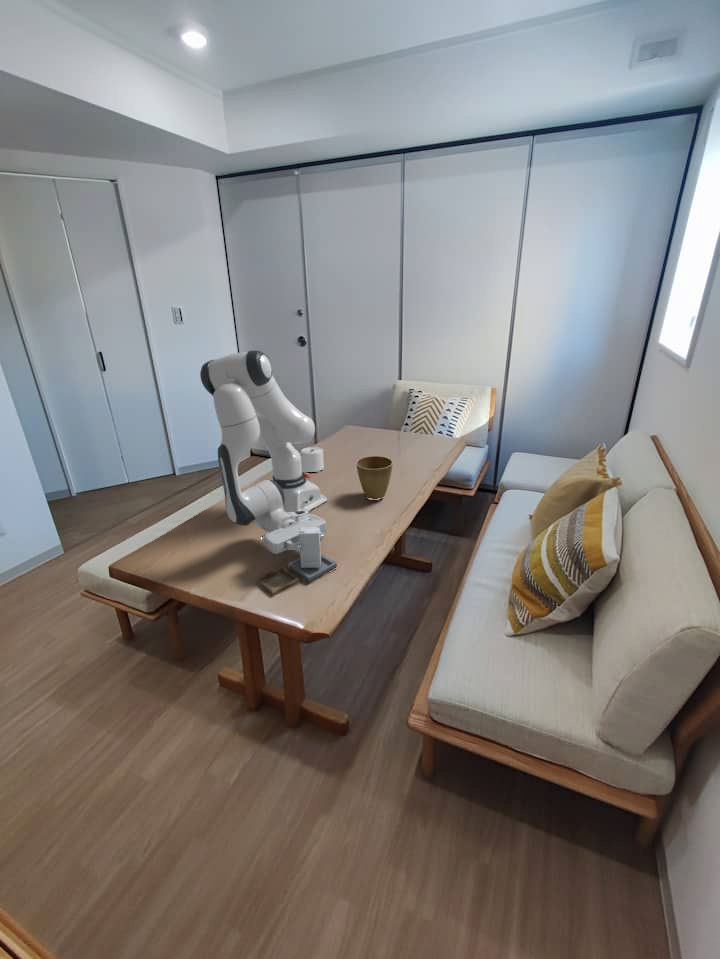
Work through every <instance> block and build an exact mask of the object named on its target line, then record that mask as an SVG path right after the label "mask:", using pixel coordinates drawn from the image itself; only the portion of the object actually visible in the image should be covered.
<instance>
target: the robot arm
mask: <svg viewBox="0 0 720 959" xmlns="http://www.w3.org/2000/svg"><path fill="white" fill-rule="evenodd" d="M272 368H273V367H272V364H271V361H270V358H269V356H268V355H267V354H265V353H264V352H262V351H261V350H249V351H242V352H235V353H231V354H229V355H225V356H222V357H219V358H216V359H211V360H208V361H207V362H205V363H204V364H203V365H202V366H201V370H200V372H199V375H200V381H201V384H202V386H203V387H204V389H205V390H206V391H207V392H208V393H209V394H210V395H212V397H213V404H214V410H215V414H216V418H217V420H218V421H217V422H218V423H219V424H218V425H219V427H220V430H221V442H220V445H219V446H218V448H217V460H218V466H219V470H220V477H221V482H222V487H223V492H224V500H225V510H226V511H225V512H226V514H227V516H228V518H229V520H230V522H232V523H233V524H234V525H238V526H244V527H245V526H248V525H250V524H251V523H254V524H255V525H257V527H258V528H260V529H261V530H263V531H264V532H267V533H266V534H263V535H261V537H260V539H259V542H260V543H261V544H262V545H265V546H266V548H267V549H268V550H269V551H270V552H271V553H272V554H280V553H282V552H284V551H286V550H292V551H293V550H294V551H296V552H300V551H301V550H303V548H302V547H303V546H302V544H300V540H299V532H300V528H301V527H320V542H321V541H325V536H326V535H325V534H324V533H326V531H327V522H326V520H325V519H323V518H322V517H319V515H316V514H313V513H311V514H310V512H311V511H310V510H311V509H313V508H315V507H317V506H318V505H320V504H322V503H324V502H325V501H327V502H328V499H327V497H326V496H325V495H324V494H323V493H321V489H320V488H319V487H318V485H317V484H315V483H313V482H312V481H309V480H308V479H311V476H312V473H304V472H302V466H301V456H300V454H301V453H300V452H299V451H298V450H297V449H296V448H295V447H294V446H293V445H292V444H295V445H296V444H308V443H310V441H311V440H312V439H313V438H314V435H315V432H316V426H315V422H314V420H313V419H312V418H311V417H310V416H308V415H306V414H304V413H303V412H302V411H300V410H299V409H298V408H297V407H296V406H295V405H294V404H293V403H292V402H290V401H289V399H288V398H287V397H286V396H285V395H284V392H282V389H281V388H280V386H279V385H278V382H277V381H276V378H275V376H274V375H273V369H272ZM256 412H257V413H256ZM259 438H261V440H262V441H263V443H264V444H265V446H266V447H267V448H266V449H267V450H268V453H269V456H270V459H271V465H272V479H268V478H267V479H264V480H261V481H260V482H257V483H255V484H254V485H252V486H250V487H249V488H246V489H245V490H243V491H242V488H241V484H240V478H239V472H238V471H239V470H238V469H239V465H240V462H241V461H242V459H244V457H245V456H246V454H247V453H248V452H250V451H251V449H253V448H254V447H255V445H256V443H257V442H258V440H259ZM324 504H325V503H324ZM322 505H323V504H322ZM320 506H321V505H320ZM317 508H318V507H317ZM315 509H316V508H315ZM308 511H310V512H308Z"/></svg>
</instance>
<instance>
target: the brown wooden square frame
mask: <svg viewBox="0 0 720 959" xmlns="http://www.w3.org/2000/svg"><path fill="white" fill-rule="evenodd" d="M279 573H282V574H283V575H285V576H286V577H288V579H289V578H290V580H291V581H289V582H287V583H285V584H283V585H281V586H279V587H278V588H275V589H273V588H272V587H271V586H269V585H268V584H266V583H265V582H264V581H267V579H270V578H272V577H274V576H276V575H277V574H279ZM255 583H256V584H258V585H259V586H260V587H261V588H262V589H264V591H266V592H267V593H269V594H270V595H271V596H272V597H275V596H277V595H279V594H280V593H282V592H284V591H286V590H288V589H289V588H291V587H293V586H296V585H297V584H300V577H299V578H298V577H297V575H294V574H293V572H292V573H291V572H290V570H288V569H286V568H285V567H283V566H279V567H277V568H276V569H273V570H271V571H270V572H268V573H265V574H263V575H261V576H258V577H257V578H256V579H255Z"/></svg>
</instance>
